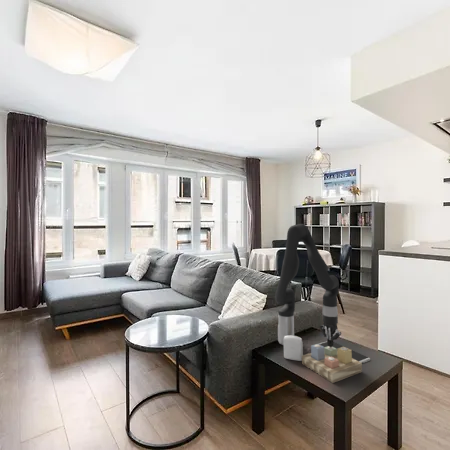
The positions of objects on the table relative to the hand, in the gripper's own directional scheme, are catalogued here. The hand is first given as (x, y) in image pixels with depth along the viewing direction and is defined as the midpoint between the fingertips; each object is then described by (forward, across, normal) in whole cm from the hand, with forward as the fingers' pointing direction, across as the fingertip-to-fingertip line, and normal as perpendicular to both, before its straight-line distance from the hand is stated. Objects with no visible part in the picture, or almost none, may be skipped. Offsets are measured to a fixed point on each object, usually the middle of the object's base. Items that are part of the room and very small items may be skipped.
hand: (330, 346), depth 151 cm
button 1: (+4, 0, -9) cm, 10 cm away
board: (+8, +5, -5) cm, 11 cm away
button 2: (+7, 0, 0) cm, 7 cm away
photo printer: (+9, -12, -15) cm, 21 cm away
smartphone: (+9, -4, +13) cm, 17 cm away
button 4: (+4, +9, 0) cm, 10 cm away
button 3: (+7, +9, -9) cm, 15 cm away
